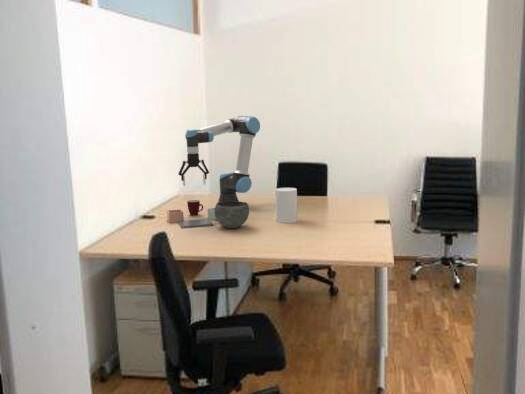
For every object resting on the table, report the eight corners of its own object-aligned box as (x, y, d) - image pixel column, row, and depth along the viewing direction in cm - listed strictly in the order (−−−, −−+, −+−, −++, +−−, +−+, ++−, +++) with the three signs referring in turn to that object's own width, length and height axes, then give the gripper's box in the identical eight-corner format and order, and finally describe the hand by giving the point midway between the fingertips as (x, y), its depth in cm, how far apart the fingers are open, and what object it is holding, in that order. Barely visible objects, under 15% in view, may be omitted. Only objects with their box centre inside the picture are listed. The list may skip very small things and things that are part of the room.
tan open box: (181, 219, 377) (180, 209, 375) (183, 222, 368) (183, 211, 367) (167, 221, 374) (166, 210, 373) (169, 223, 365) (169, 213, 364)
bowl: (242, 232, 339) (241, 207, 336) (209, 230, 346) (208, 205, 344) (254, 224, 358) (254, 200, 356) (223, 222, 366) (222, 199, 363)
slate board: (207, 220, 373) (207, 218, 373) (213, 225, 358) (213, 223, 358) (176, 223, 367) (176, 221, 367) (181, 228, 352) (181, 226, 352)
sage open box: (218, 217, 381) (218, 207, 379) (225, 219, 374) (225, 208, 373) (208, 219, 376) (207, 208, 375) (215, 221, 370) (214, 210, 368)
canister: (283, 217, 376) (282, 187, 373) (301, 219, 369) (300, 188, 365) (271, 221, 366) (270, 190, 362) (289, 223, 358) (289, 191, 354)
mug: (200, 213, 395) (199, 199, 393) (205, 215, 388) (204, 200, 387) (186, 215, 390) (185, 200, 388) (191, 217, 383) (190, 202, 381)
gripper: (210, 151, 389) (211, 182, 393) (173, 153, 381) (174, 185, 385) (212, 152, 382) (214, 184, 386) (175, 154, 374) (176, 187, 378)
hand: (194, 185), depth 385 cm, fingers open, 13 cm apart
